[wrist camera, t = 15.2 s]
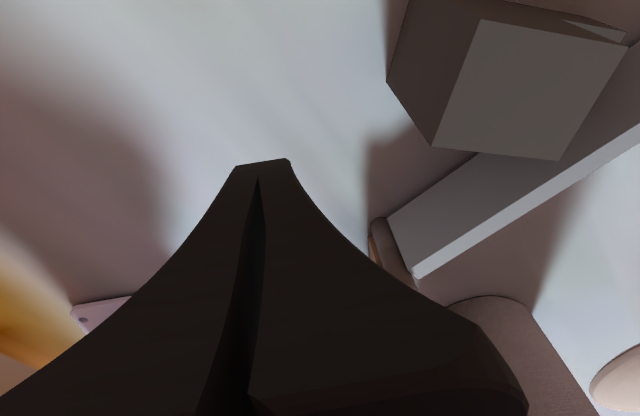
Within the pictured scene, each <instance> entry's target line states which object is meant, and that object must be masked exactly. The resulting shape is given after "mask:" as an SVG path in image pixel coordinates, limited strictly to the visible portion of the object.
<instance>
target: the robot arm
mask: <svg viewBox="0 0 640 416" xmlns="http://www.w3.org/2000/svg"><path fill="white" fill-rule="evenodd" d="M70 315H71V316H72V318H73V319H74V320H75V321H76V323H77V324H78V325H79V326H80V327H81V329H82V330H83V331H84V332H85V333H86V336H84V337H83V338H82V339H81V340H79V341H78V342H77V343H75V344H74V345H73V346H71V347H70V348H69V349H68V350H66V351H65V352H64V353H62V354H61V355H60V356H58V357H57V358H55V359H54V360H53V361H51V362H50V363H49V364H47V365H46V366H44V367H43V368H41V369H40V370H38V371H37V372H36V373H34V374H33V375H31V376H30V377H29V378H27V379H25V380H24V381H22V382H21V383H20V384H18V385H17V386H15V387H14V388H12V389H11V390H9V391H8V392H7V393H5V394H4V395H2V396H1V397H0V416H528V410H529V403H528V400H527V398H526V396H525V394H524V392H523V390H522V388H521V386H520V384H519V382H518V380H517V378H516V376H515V375H514V373H513V372H512V370H511V368H510V367H509V365H508V364H507V363H506V361H505V360H504V358H503V357H502V355H501V354H500V353H499V351H498V350H497V348H496V347H495V346H494V344H493V343H492V342H491V340H490V339H489V338H488V336H487V335H486V334H485V332H484V331H483V330H482V329H481V327H480V326H479V325H478V324H476V323H474V322H472V321H470V320H468V319H466V318H464V317H463V316H461V315H459V314H457V313H455V312H453V311H451V310H449V309H447V308H445V307H443V306H442V305H440V304H438V303H436V302H434V301H432V300H430V299H429V298H427V297H425V296H424V295H422V294H420V293H419V292H417V291H416V290H414V289H412V288H411V287H409V286H408V285H406V284H404V283H403V282H402V281H400V280H399V279H397V278H396V277H395V276H393V275H392V274H390V273H389V272H388V271H386V270H385V269H384V268H382V267H381V266H379V265H378V264H377V263H375V262H374V261H372V260H371V259H370V258H369V257H367V256H366V255H365V254H364V253H363V252H361V251H360V250H359V249H358V248H357V247H355V246H354V245H353V244H352V243H351V242H350V241H349V240H348V239H347V238H346V237H345V236H343V235H342V234H341V233H340V232H339V231H338V230H337V229H336V228H335V226H334V225H333V224H332V223H331V222H330V221H329V220H328V219H327V218H326V217H325V216H324V214H323V213H322V212H321V211H320V210H319V209H318V207H317V206H316V205H315V204H314V202H313V201H312V200H311V198H310V197H309V195H308V194H307V193H306V191H305V190H304V189H303V187H302V186H301V184H300V182H299V181H298V179H297V177H296V175H295V173H294V171H293V169H292V167H291V163H290V161H289V160H287V159H286V158H282V159H276V160H269V161H263V162H257V163H251V164H244V165H238V166H235V168H234V169H233V170H232V172H231V173H230V175H229V177H228V178H227V180H226V182H225V183H224V185H223V187H222V188H221V190H220V192H219V193H218V195H217V196H216V198H215V199H214V201H213V202H212V204H211V205H210V207H209V208H208V210H207V211H206V213H205V214H204V216H203V217H202V219H201V220H200V222H199V223H198V224H197V226H196V227H195V228H194V229H193V231H192V232H191V233H190V235H189V236H188V237H187V239H186V240H185V241H184V243H183V244H182V245H181V246H180V248H179V249H178V250H177V251H176V252H175V253H174V254H173V256H172V257H171V258H170V259H169V260H168V261H167V262H166V263H165V264H164V265H163V266H162V267H161V268H160V270H159V271H158V272H157V273H156V274H155V275H154V276H153V277H152V278H151V279H150V280H149V281H148V282H147V283H146V284H145V285H143V286H142V287H141V288H140V289H139V290H138V291H137V292H136V293H135V294H134V295H132V296H127V297H121V298H115V299H109V300H104V301H98V302H92V303H86V304H80V305H76V306H74V307H72V309H71V312H70Z"/></svg>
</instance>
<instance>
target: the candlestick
mask: <svg viewBox="0 0 640 416" xmlns="http://www.w3.org/2000/svg"><path fill="white" fill-rule="evenodd" d="M589 393H590V395H591V397H592V398H593V400H594V401H595V402H596V403H597V404H599V405H601V406H603V407H606V408H609V409H613V410H618V411H640V346H638V347H636V348H634V349H632V350H630V351H628V352H626V353H624V354H623V355H621V356H619V357H618V358H616V359H615V360H613V361H612V362H610V363H609V364H608V365H606V366H605V367H604V368H603V369H602V370H601V371H600V372H598V374H597V375H596V376H595V377H594V379H593V380H592V382H591V384H590V386H589Z"/></svg>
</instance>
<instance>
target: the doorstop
mask: <svg viewBox="0 0 640 416" xmlns="http://www.w3.org/2000/svg"><path fill="white" fill-rule="evenodd" d="M626 33H627V32H625V31H622V30H619V29H616V28H614V27H611V26H608V25H606V24H603V23H600V22H597V21H595V20H592V19H589V18H587V17H583V16H578V15H573V14H568V13H563V12H558V11H553V10H548V9H543V8H538V7H533V6H528V5H523V4H518V3H513V2H508V1H503V0H409V3H408V7H407V10H406V14H405V17H404V21H403V24H402V28H401V31H400V35H399V38H398V42H397V45H396V49H395V52H394V56H393V59H392V63H391V66H390V70H389V73H388V77H387V80H386V83H387V84H388V85H389V87H390V88H391V90H392V91H393V93H394V94H395V96H396V97H397V99H398V100H399V101H400V103H401V104H402V106H403V107H404V109H405V110H406V112H407V113H408V114H409V116H410V117H411V119H412V120H413V122H414V123H415V125H416V126H417V127H418V129H419V130H420V132H421V133H422V135H423V136H424V138H425V139H426V140H427V142H428V143H429V145H430V146H431V147H437V148H446V149H455V150H464V151H473V152H482V153H491V154H500V155H509V156H518V157H527V158H536V159H545V160H554V161H559V160H560V158H561V157H562V155H563V153H564V152H565V150H566V148H567V147H568V145H569V144H570V142H571V140H572V139H573V137H574V135H575V134H576V132H577V131H578V129H579V127H580V126H581V124H582V123H583V121H584V119H585V118H586V116H587V114H588V113H589V111H590V110H591V108H592V106H593V105H594V103H595V101H596V100H597V98H598V97H599V95H600V93H601V92H602V90H603V88H604V87H605V85H606V84H607V82H608V80H609V79H610V77H611V75H612V74H613V72H614V71H615V69H616V67H617V66H618V64H619V63H620V61H621V59H622V58H623V56H624V54H625V53H626V51H627V50H628V48H629V47H628V46H625V45H623V44H621V41H622V39H623V38H624V36H625V34H626Z"/></svg>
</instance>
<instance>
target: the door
mask: <svg viewBox="0 0 640 416" xmlns="http://www.w3.org/2000/svg"><path fill="white" fill-rule="evenodd" d="M639 143H640V41H638V42H637V43H636V44H634V45H633V46H631V47H630V48H629V49H628V50H627V51H626V53H625V54H624V56H623V58H622V59H621V61H620V63H619V64H618V66H617V67H616V69H615V71H614V72H613V74H612V75H611V77H610V79H609V80H608V82H607V84H606V85H605V87H604V88H603V90H602V92H601V93H600V95H599V97H598V98H597V100H596V101H595V103H594V105H593V106H592V108H591V110H590V111H589V113H588V114H587V116H586V118H585V119H584V121H583V123H582V124H581V126H580V127H579V129H578V131H577V132H576V134H575V135H574V137H573V139H572V140H571V142H570V144H569V145H568V147H567V148H566V150H565V152H564V153H563V155H562V157H561V158H560V160H559V161H554V160H545V159H536V158H527V157H518V156H509V155H500V154H491V153H482V152H480V153H479V154H478V155H476V156H475V157H473V158H472V159H471V160H469V161H468V162H466V163H465V164H463V165H462V166H461V167H459V168H458V169H456V170H455V171H453V172H452V173H451V174H449V175H448V176H446V177H445V178H443V179H442V180H441V181H439V182H438V183H436V184H435V185H434V186H432V187H431V188H429V189H428V190H426V191H425V192H424V193H422V194H421V195H419V196H418V197H416V198H415V199H414V200H412V201H411V202H409V203H408V204H406V205H405V206H404V207H402V208H401V209H399V210H398V211H397V212H395V213H394V214H392V215H391V216H389V217H388V218H387V220H388V223H389V225H390V228H391V230H392V232H393V235H394V237H395V240H396V242H397V245H398V247H399V250H400V252H401V255H402V257H403V260H404V262H405V265H406V267H407V270H408V271H409V272H410V273H411V274H412V275H414V276H415V277H416V278H417V279H418V280H419V279H421V278H422V277H424V276H426V275H427V274H429V273H430V272H432V271H434V270H435V269H437V268H438V267H440V266H442V265H443V264H445V263H446V262H448V261H450V260H451V259H453V258H455V257H456V256H458V255H459V254H461V253H463V252H464V251H466V250H467V249H469V248H471V247H472V246H474V245H476V244H477V243H479V242H480V241H482V240H484V239H485V238H487V237H488V236H490V235H492V234H493V233H495V232H497V231H498V230H500V229H501V228H503V227H505V226H506V225H508V224H509V223H511V222H513V221H514V220H516V219H518V218H519V217H521V216H522V215H524V214H526V213H527V212H529V211H530V210H532V209H534V208H535V207H537V206H538V205H540V204H542V203H543V202H545V201H547V200H548V199H550V198H551V197H553V196H555V195H556V194H558V193H559V192H561V191H563V190H564V189H566V188H568V187H569V186H571V185H572V184H574V183H576V182H577V181H579V180H580V179H582V178H584V177H585V176H587V175H589V174H590V173H592V172H593V171H595V170H597V169H598V168H600V167H601V166H603V165H605V164H606V163H608V162H609V161H611V160H613V159H614V158H616V157H618V156H619V155H621V154H622V153H624V152H626V151H627V150H629V149H630V148H632V147H634V146H635V145H637V144H639Z"/></svg>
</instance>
